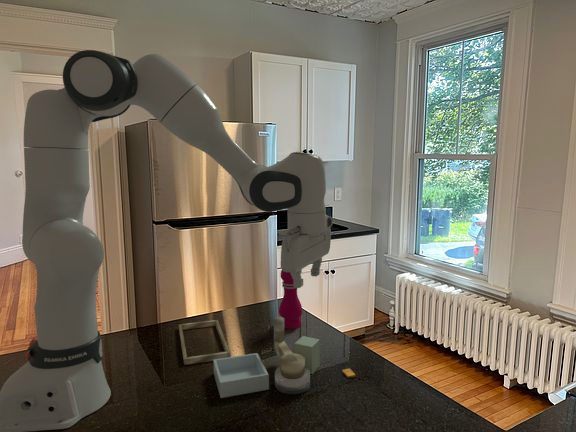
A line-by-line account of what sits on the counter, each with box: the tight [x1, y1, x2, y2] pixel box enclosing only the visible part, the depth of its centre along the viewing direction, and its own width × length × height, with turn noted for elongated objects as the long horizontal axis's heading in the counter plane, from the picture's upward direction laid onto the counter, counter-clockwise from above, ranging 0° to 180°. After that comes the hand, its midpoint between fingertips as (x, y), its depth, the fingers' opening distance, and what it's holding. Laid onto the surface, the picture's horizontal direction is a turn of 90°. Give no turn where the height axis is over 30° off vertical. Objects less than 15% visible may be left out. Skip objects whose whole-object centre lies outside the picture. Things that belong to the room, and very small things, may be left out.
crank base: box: [274, 366, 356, 395], centre depth 96 cm, size 19×8×3 cm, turn 108°
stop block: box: [294, 335, 321, 375], centre depth 101 cm, size 4×4×7 cm
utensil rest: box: [178, 319, 232, 366], centre depth 116 cm, size 12×23×2 cm, turn 18°
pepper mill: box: [278, 269, 304, 330], centre depth 126 cm, size 7×7×20 cm
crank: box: [273, 316, 305, 378], centre depth 98 cm, size 15×6×8 cm, turn 18°
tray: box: [212, 352, 270, 399], centre depth 96 cm, size 11×11×4 cm
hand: (307, 281), depth 98 cm, fingers open, 8 cm apart
